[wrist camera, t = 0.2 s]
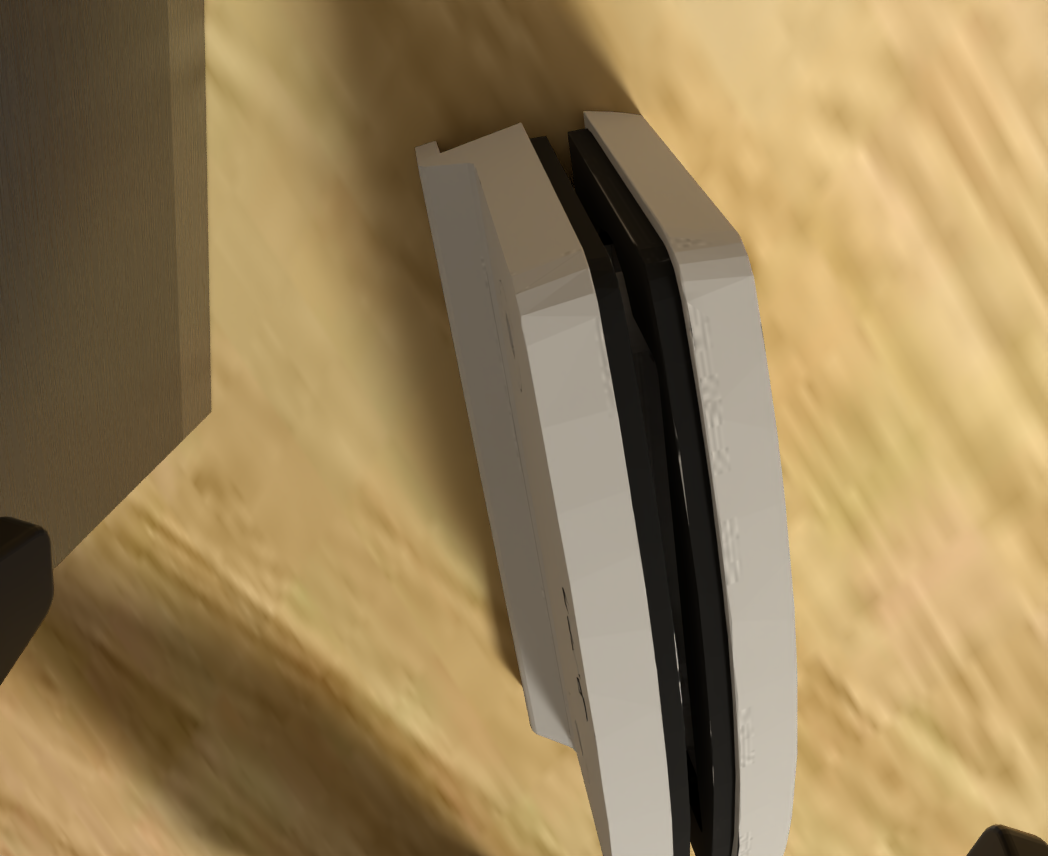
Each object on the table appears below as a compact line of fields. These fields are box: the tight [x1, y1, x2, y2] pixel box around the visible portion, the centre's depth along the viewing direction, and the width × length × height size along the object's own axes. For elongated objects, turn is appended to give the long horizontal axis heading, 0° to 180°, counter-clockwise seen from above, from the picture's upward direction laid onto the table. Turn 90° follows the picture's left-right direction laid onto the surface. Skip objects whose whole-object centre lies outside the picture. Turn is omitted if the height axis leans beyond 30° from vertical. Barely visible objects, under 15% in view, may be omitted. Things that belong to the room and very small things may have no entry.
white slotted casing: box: [415, 111, 797, 856], centre depth 21 cm, size 17×5×10 cm, turn 9°
